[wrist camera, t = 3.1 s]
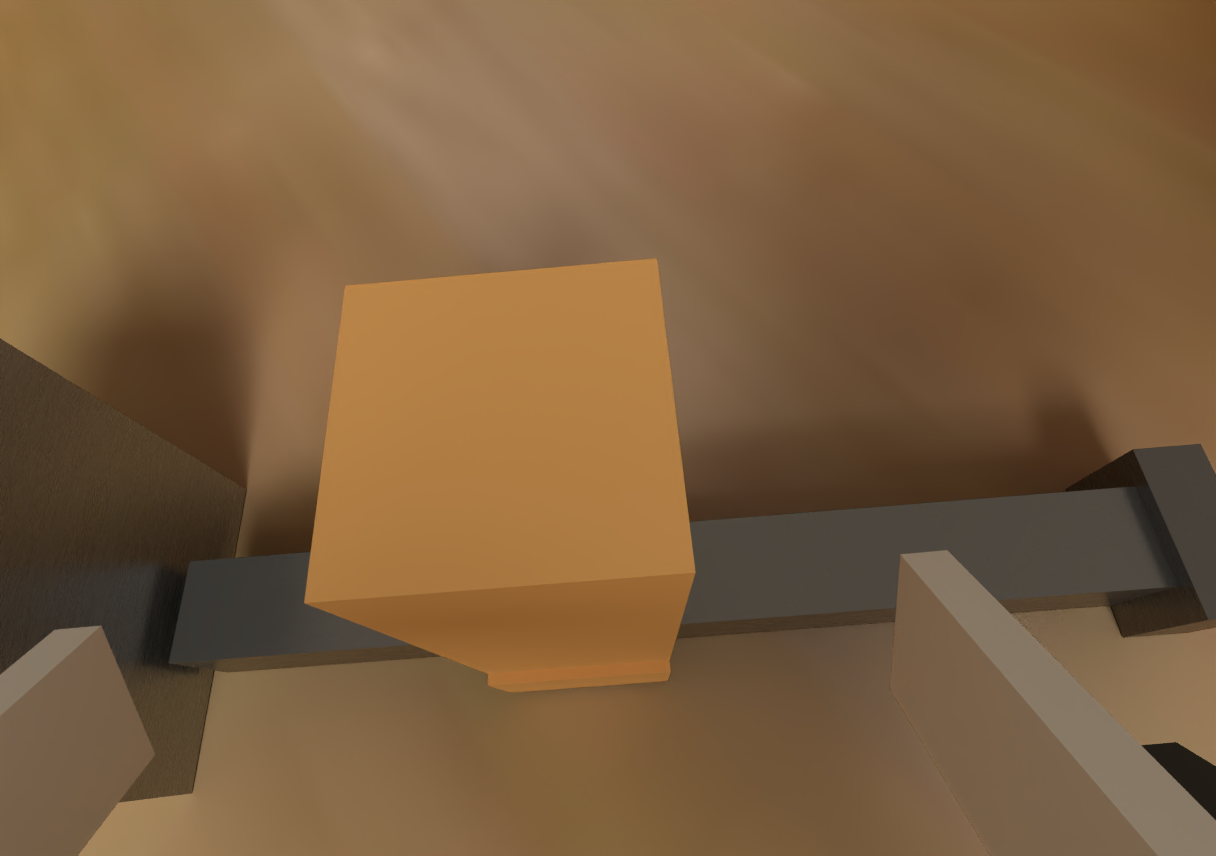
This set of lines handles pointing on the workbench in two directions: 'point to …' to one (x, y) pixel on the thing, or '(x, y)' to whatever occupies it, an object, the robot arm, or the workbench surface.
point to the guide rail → (817, 568)
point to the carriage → (508, 475)
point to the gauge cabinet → (107, 548)
